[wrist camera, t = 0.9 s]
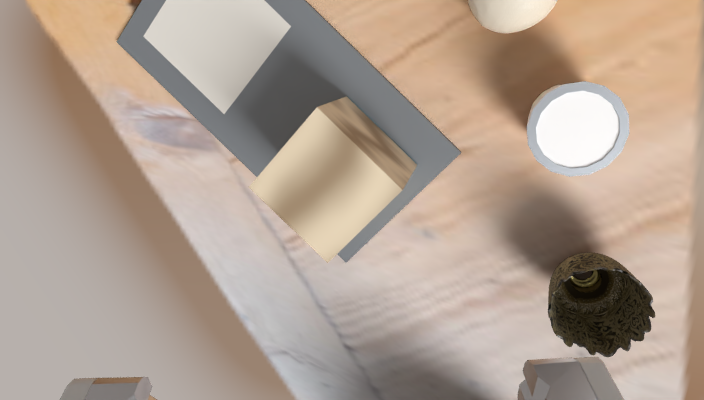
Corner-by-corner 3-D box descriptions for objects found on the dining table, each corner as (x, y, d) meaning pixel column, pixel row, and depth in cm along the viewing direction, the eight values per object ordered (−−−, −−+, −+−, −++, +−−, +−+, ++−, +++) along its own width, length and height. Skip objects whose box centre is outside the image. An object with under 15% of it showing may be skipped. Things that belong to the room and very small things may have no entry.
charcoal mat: (461, 152, 46) (461, 152, 45) (346, 261, 52) (345, 262, 51) (204, -99, 45) (202, -100, 45) (118, 41, 51) (116, 42, 51)
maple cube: (417, 164, 47) (402, 190, 38) (354, 226, 50) (327, 263, 42) (347, 96, 46) (316, 107, 38) (288, 163, 50) (248, 187, 41)
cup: (524, 286, 48) (531, 331, 40) (562, 219, 45) (576, 254, 38) (601, 320, 47) (623, 372, 39) (644, 253, 44) (676, 295, 37)
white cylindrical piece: (516, 154, 44) (521, 173, 38) (526, 74, 42) (533, 79, 36) (600, 160, 43) (620, 181, 36) (615, 77, 41) (639, 83, 34)
